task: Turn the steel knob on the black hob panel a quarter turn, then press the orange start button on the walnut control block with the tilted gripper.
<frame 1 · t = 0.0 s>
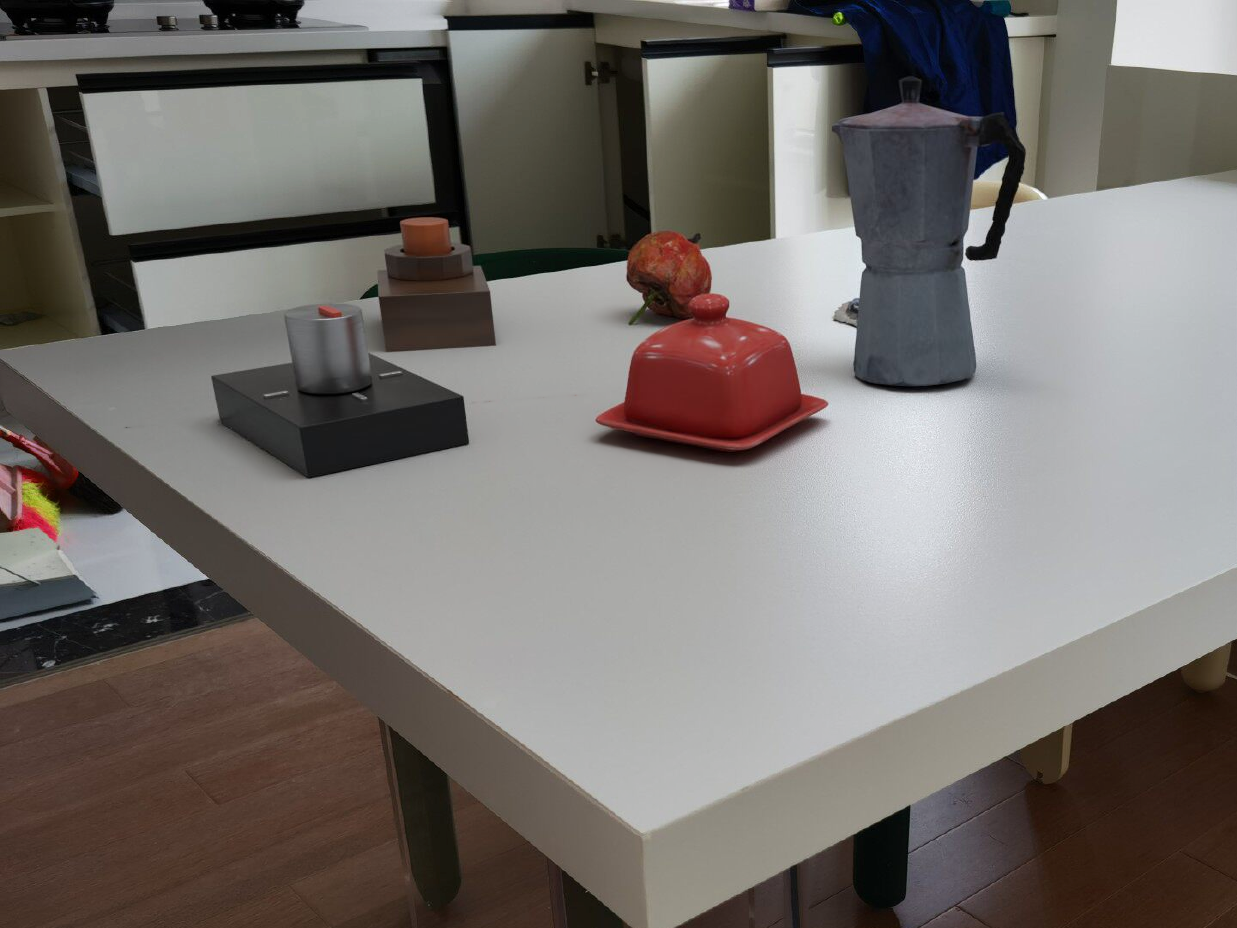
butter dish: (715, 432, 89), on the table
control block: (438, 334, 110), on the table
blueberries: (873, 320, 117), on the table
moka pot: (920, 378, 101), on the table
hob panel: (342, 432, 87), on the table
start button: (426, 237, 109), point 7 cm above the table, slide at 0.1 cm
hob knob: (328, 345, 85), point 5 cm above the table, hinge at 0.0°
pomegranate: (668, 321, 116), on the table
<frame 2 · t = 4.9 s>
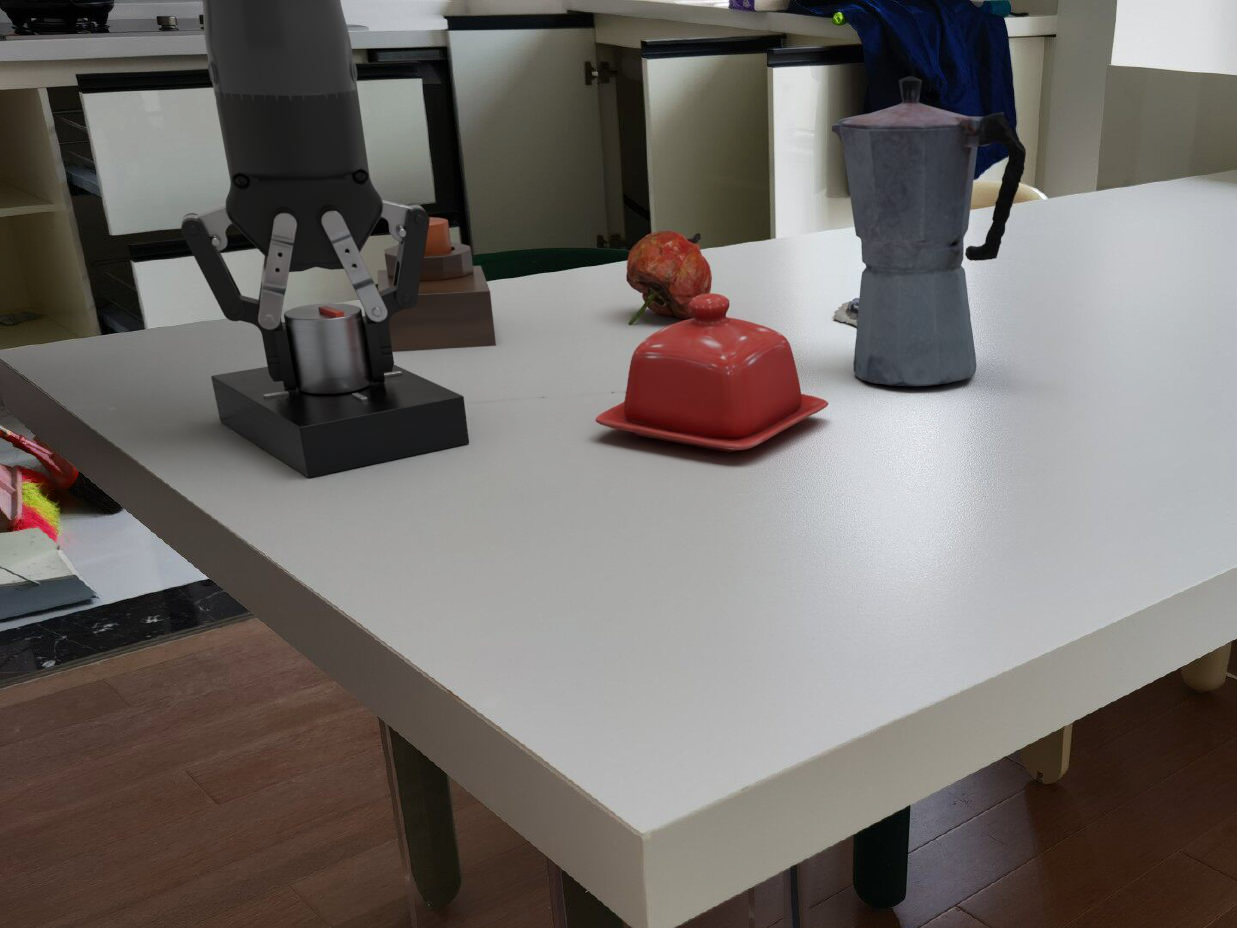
hand: (333, 382, 86), 3 cm above the table, tool pointing down, fingers closed on hob knob, 4 cm apart
hob knob: (328, 345, 85), point 5 cm above the table, hinge at 4.3°, touching gripper
everything else where it was.
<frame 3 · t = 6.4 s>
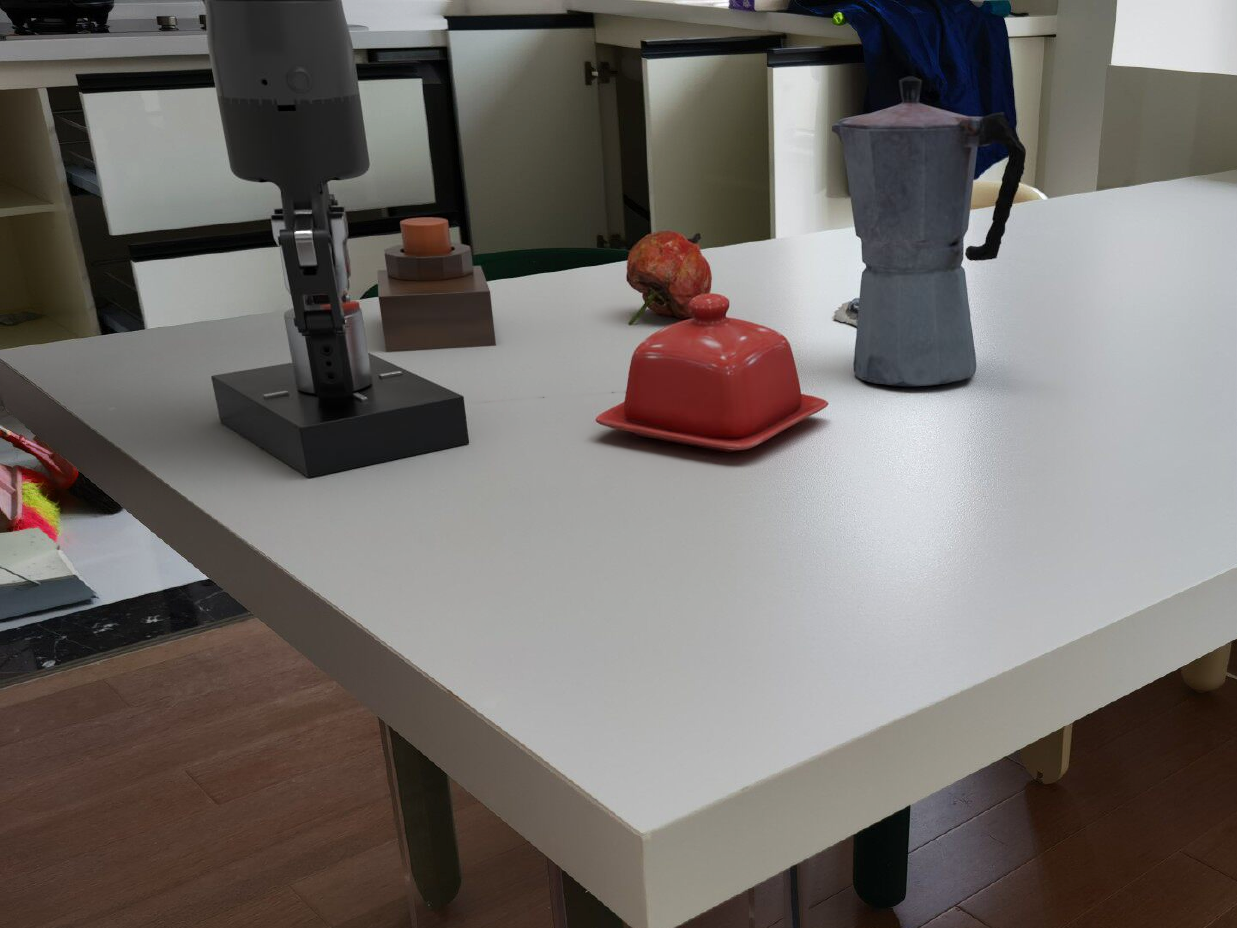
hand: (336, 382, 86), 3 cm above the table, tool pointing down, fingers open, 5 cm apart
hob knob: (328, 345, 85), point 5 cm above the table, hinge at 87.4°
everything else where it was.
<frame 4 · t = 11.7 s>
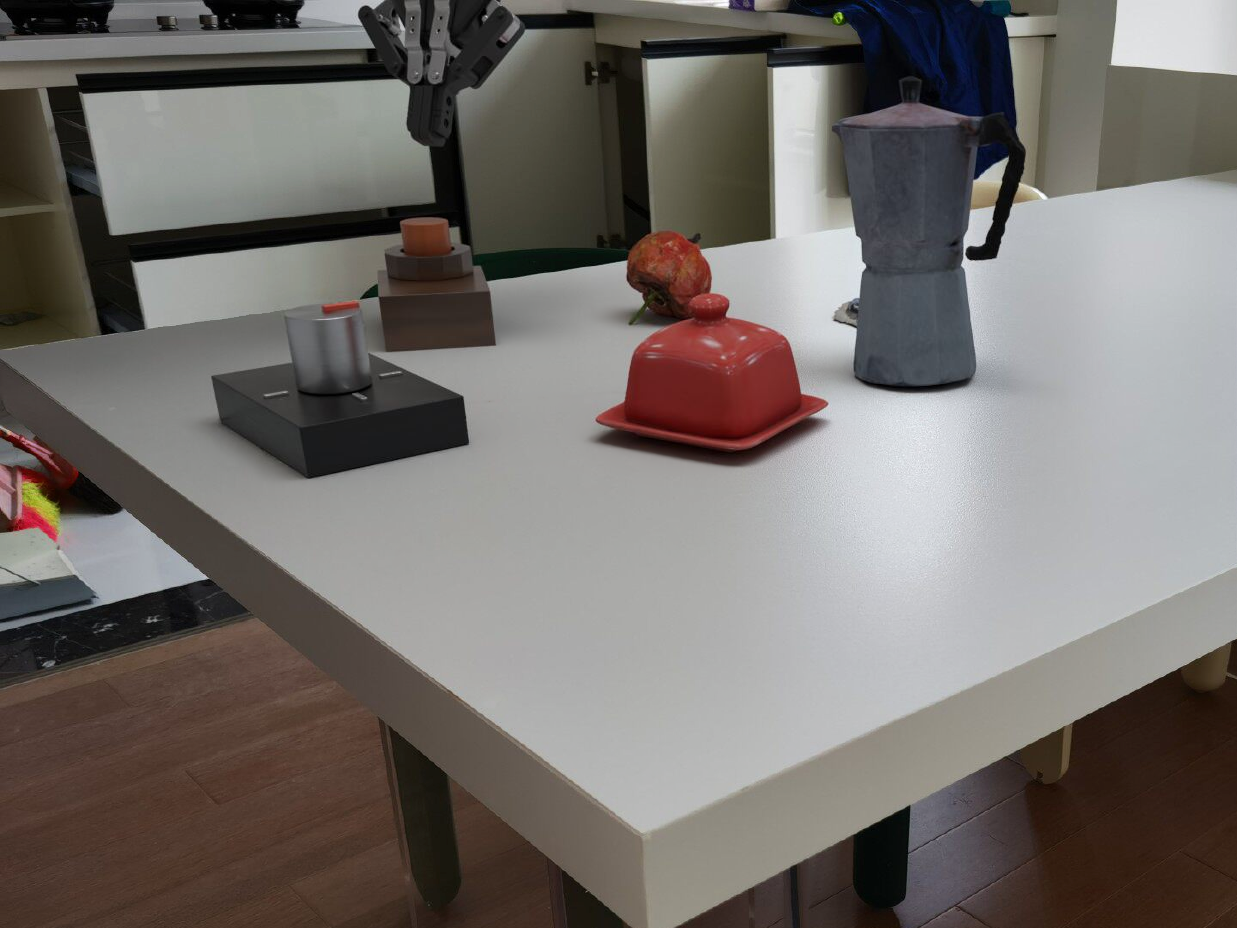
hand: (427, 142, 101), 15 cm above the table, tool tilted 25°, fingers closed
nothing on the table moved.
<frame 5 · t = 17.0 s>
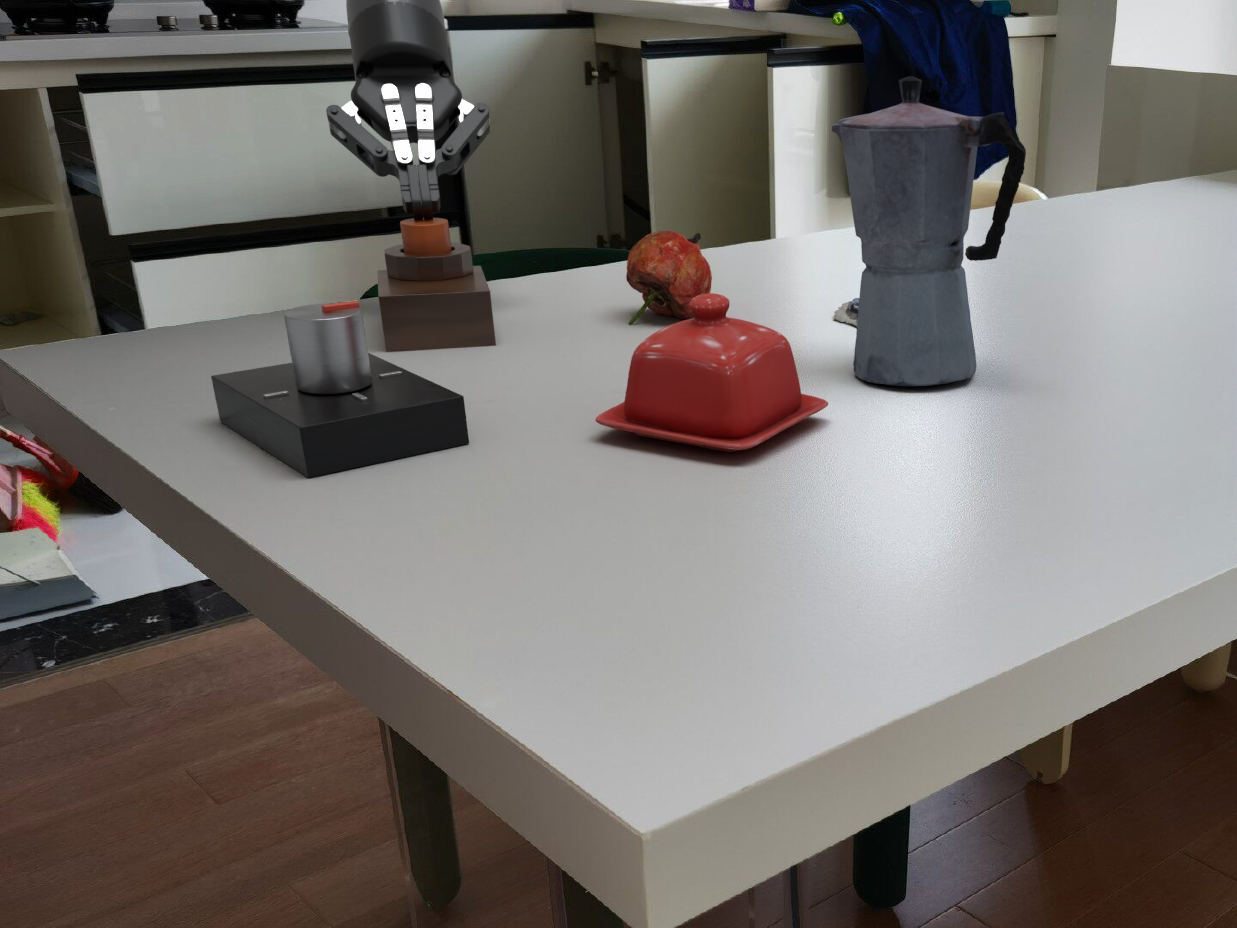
hand: (423, 213, 109), 9 cm above the table, tool tilted 45°, fingers closed
start button: (426, 237, 109), point 7 cm above the table, slide at 0.1 cm, touching gripper
everything else where it was.
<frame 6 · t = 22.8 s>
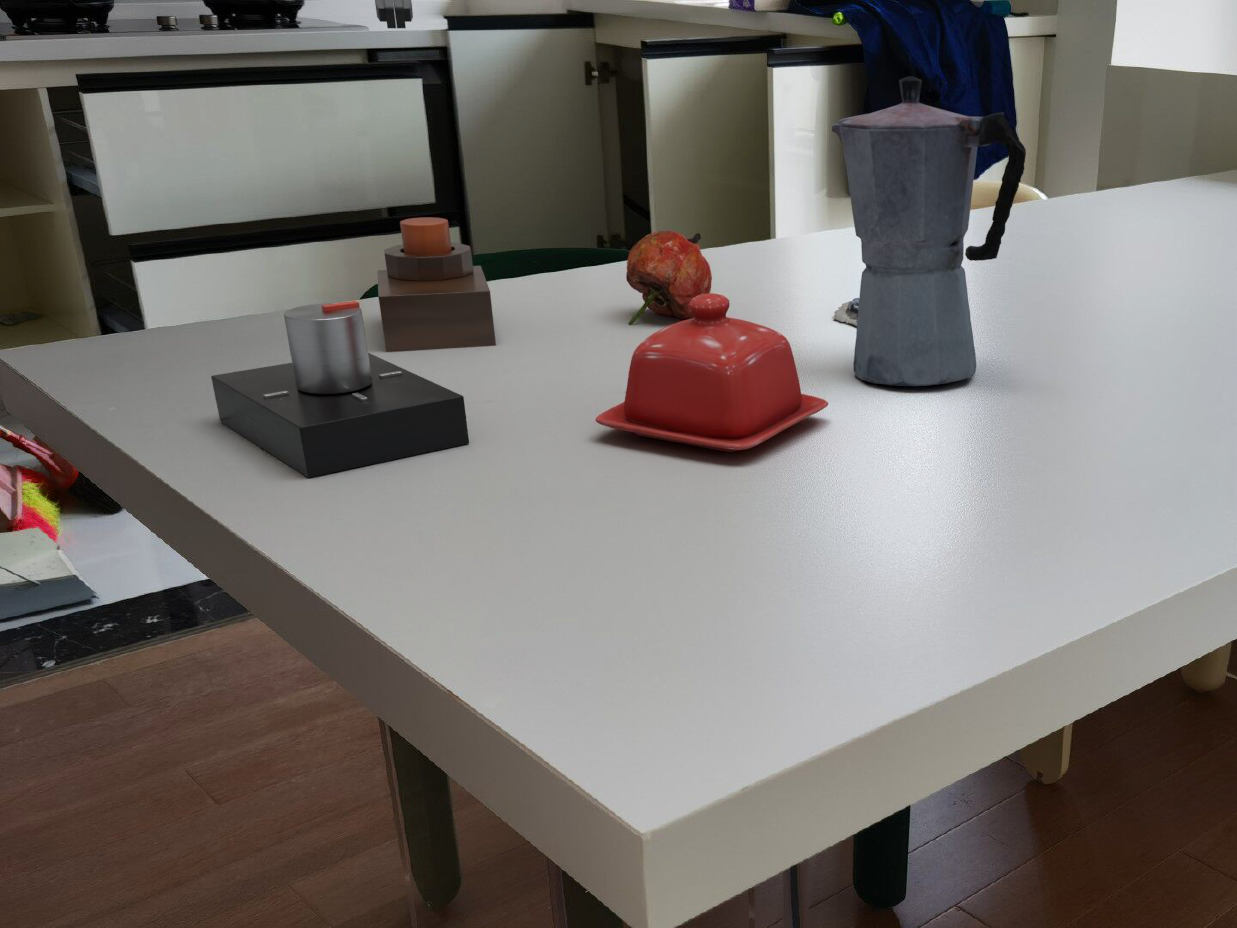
hand: (396, 20, 114), 22 cm above the table, tool tilted 45°, fingers closed
start button: (426, 237, 109), point 7 cm above the table, slide at 0.1 cm
everything else where it was.
at the end: hob knob at +87° (first picture: +0°); start button pushed in 1.3 cm at the most during the clip, back to where it started at the end; start button slide at 0.1 cm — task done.
